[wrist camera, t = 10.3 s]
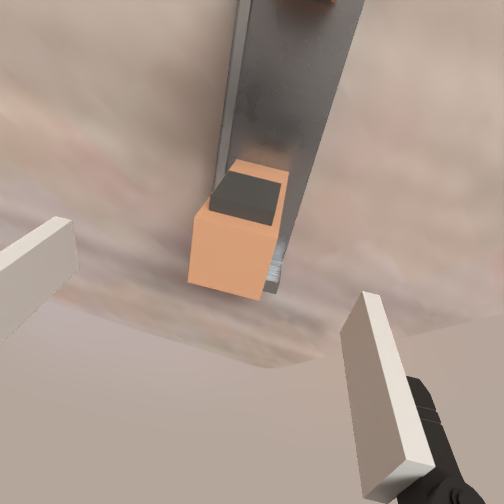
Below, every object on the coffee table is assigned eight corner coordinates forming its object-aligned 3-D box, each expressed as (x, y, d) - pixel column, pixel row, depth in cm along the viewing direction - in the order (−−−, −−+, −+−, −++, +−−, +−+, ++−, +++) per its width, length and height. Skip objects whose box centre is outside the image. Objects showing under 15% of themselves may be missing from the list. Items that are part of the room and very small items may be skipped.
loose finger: (223, 238, 26) (183, 320, 18) (238, 148, 22) (196, 201, 14) (267, 249, 26) (248, 337, 18) (291, 161, 22) (282, 223, 14)
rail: (210, 242, 29) (193, 272, 25) (283, -268, 14) (272, -412, 10) (280, 260, 29) (275, 294, 25) (434, -236, 14) (490, -368, 9)
